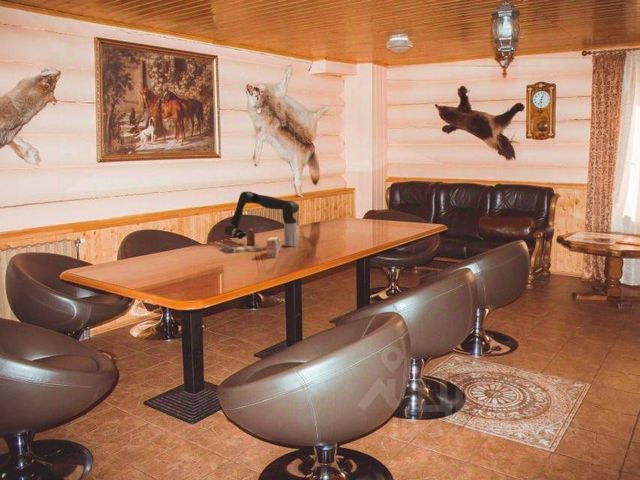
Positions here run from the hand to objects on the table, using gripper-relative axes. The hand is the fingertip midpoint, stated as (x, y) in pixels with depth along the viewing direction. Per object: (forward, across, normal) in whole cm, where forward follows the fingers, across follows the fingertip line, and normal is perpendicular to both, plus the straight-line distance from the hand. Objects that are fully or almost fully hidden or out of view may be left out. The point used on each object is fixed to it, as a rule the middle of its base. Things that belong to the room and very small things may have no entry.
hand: (245, 236), depth 460 cm
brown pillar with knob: (+11, 0, +7) cm, 13 cm away
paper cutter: (+16, -8, +7) cm, 19 cm away
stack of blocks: (+44, +4, +7) cm, 45 cm away
